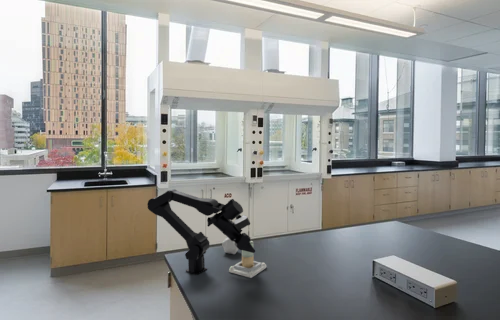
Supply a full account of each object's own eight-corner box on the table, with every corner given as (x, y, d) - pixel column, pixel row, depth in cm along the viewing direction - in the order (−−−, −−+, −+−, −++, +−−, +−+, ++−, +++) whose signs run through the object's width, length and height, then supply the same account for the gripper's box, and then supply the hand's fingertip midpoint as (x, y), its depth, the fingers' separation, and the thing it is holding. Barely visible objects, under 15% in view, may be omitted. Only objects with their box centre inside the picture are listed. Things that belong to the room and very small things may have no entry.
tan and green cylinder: (249, 270, 131) (249, 244, 131) (239, 267, 134) (239, 242, 133) (255, 266, 135) (255, 241, 135) (246, 263, 138) (245, 239, 137)
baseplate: (251, 277, 127) (251, 272, 127) (228, 271, 133) (228, 266, 133) (266, 267, 137) (266, 262, 137) (244, 262, 143) (244, 257, 143)
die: (243, 252, 157) (236, 234, 161) (241, 249, 150) (234, 230, 154) (228, 259, 157) (221, 240, 161) (225, 256, 149) (218, 237, 153)
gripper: (245, 215, 123) (271, 240, 127) (231, 205, 141) (255, 228, 145) (225, 237, 121) (253, 262, 125) (214, 225, 139) (239, 247, 143)
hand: (250, 248), depth 135 cm, fingers open, 9 cm apart
